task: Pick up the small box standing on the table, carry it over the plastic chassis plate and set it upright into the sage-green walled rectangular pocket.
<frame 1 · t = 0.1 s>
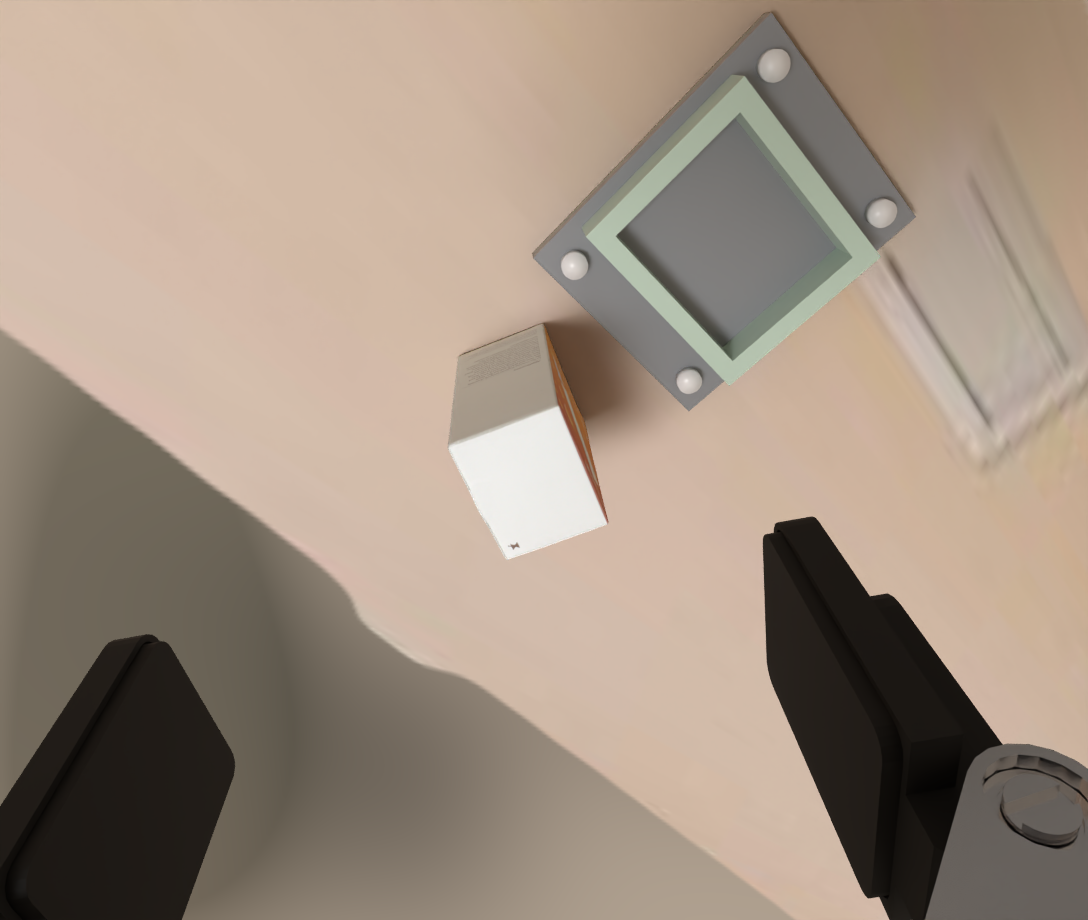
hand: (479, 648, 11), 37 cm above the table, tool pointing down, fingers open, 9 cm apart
chassis: (719, 233, 45), on the table
small box: (523, 387, 50), on the table
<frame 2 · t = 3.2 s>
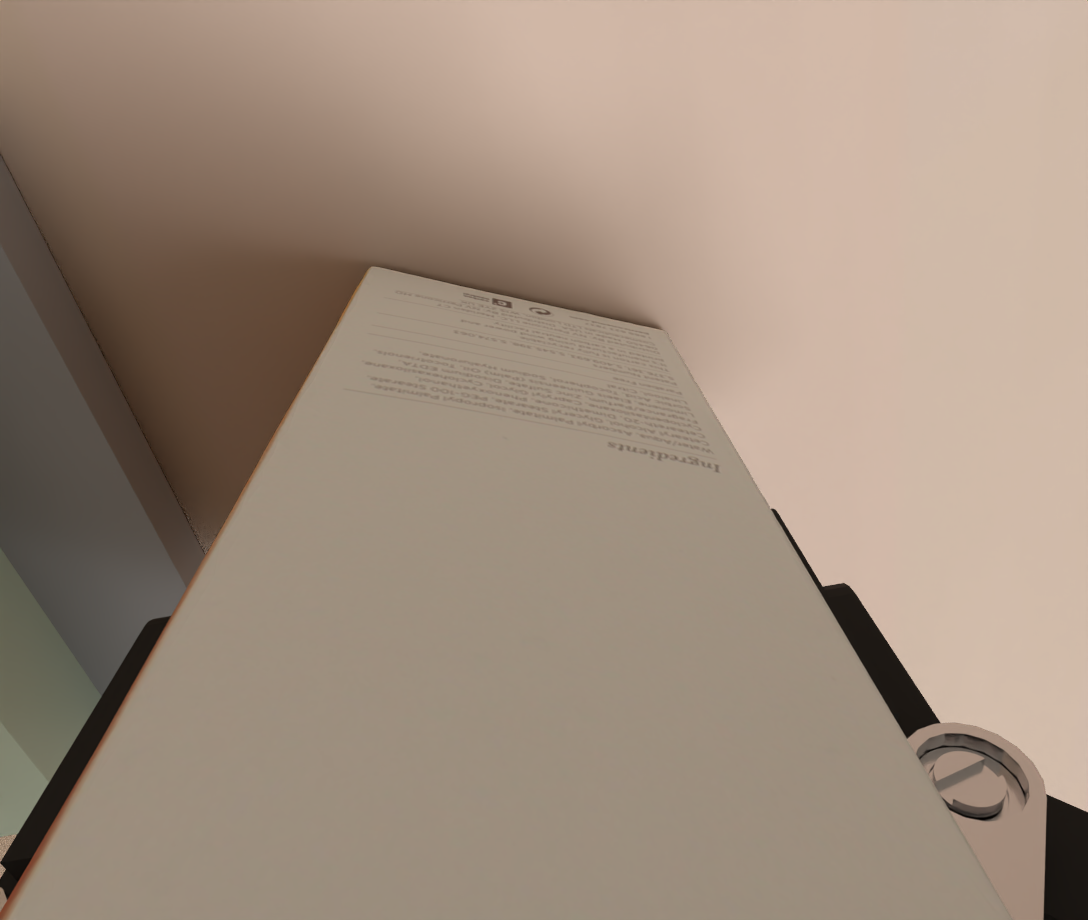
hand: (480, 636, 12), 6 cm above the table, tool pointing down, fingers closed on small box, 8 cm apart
small box: (484, 458, 17), on the table, touching gripper
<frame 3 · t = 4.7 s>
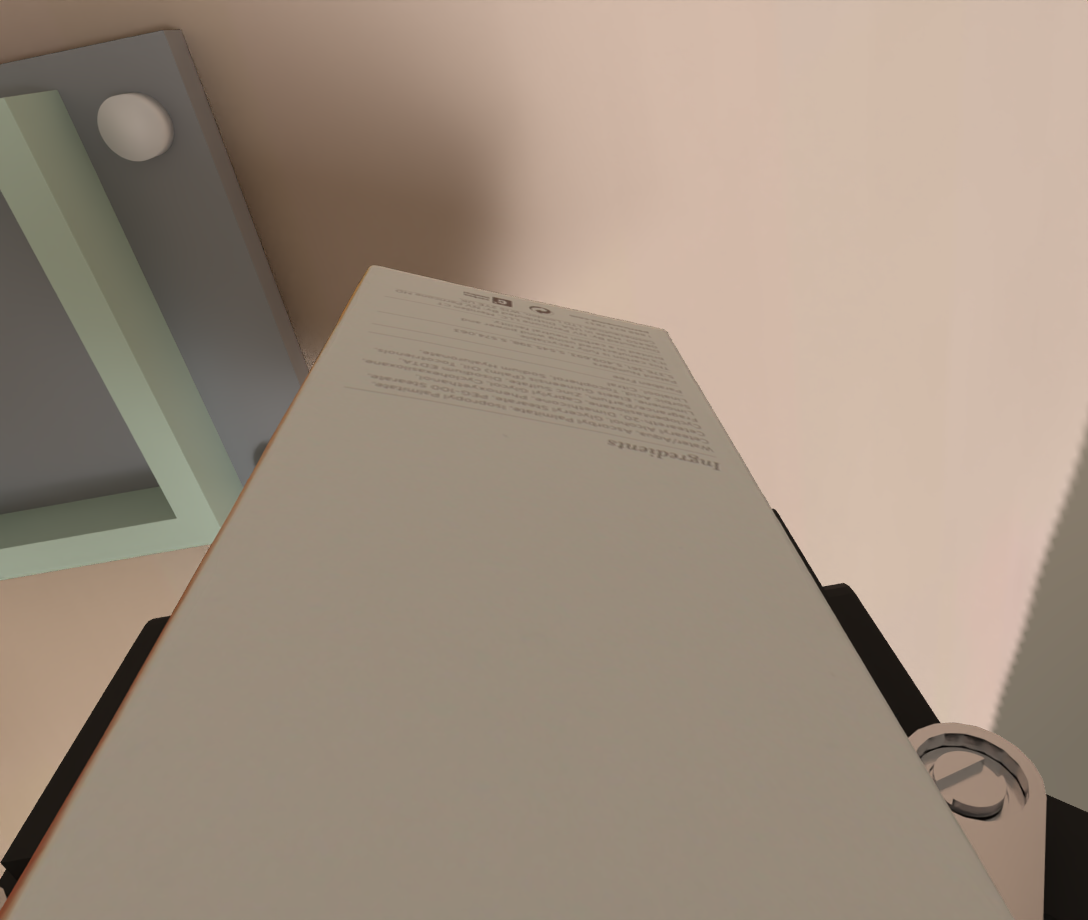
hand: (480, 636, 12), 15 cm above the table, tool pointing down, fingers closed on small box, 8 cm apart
chassis: (16, 344, 24), on the table
small box: (484, 457, 17), point 9 cm above the table, touching gripper
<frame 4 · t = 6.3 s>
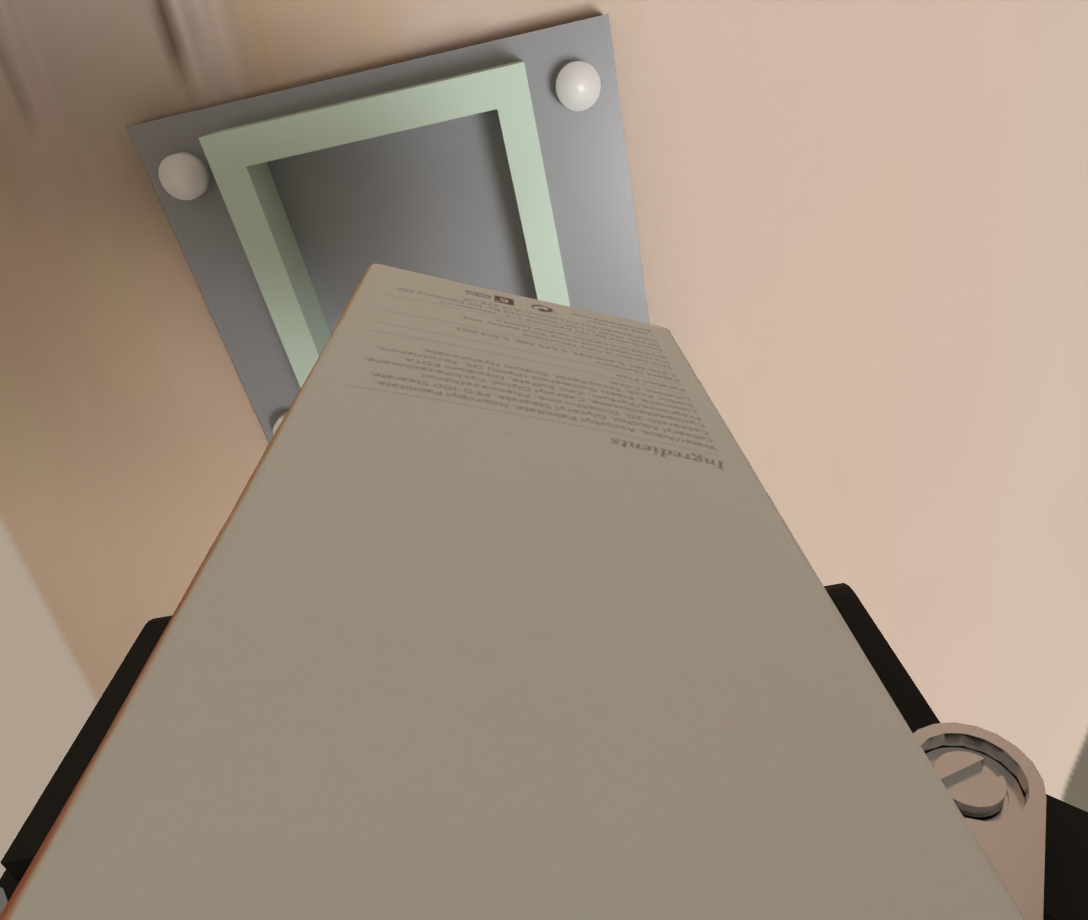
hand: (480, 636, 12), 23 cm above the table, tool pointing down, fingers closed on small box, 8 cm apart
chassis: (423, 265, 31), on the table
small box: (485, 456, 17), point 17 cm above the table, touching gripper
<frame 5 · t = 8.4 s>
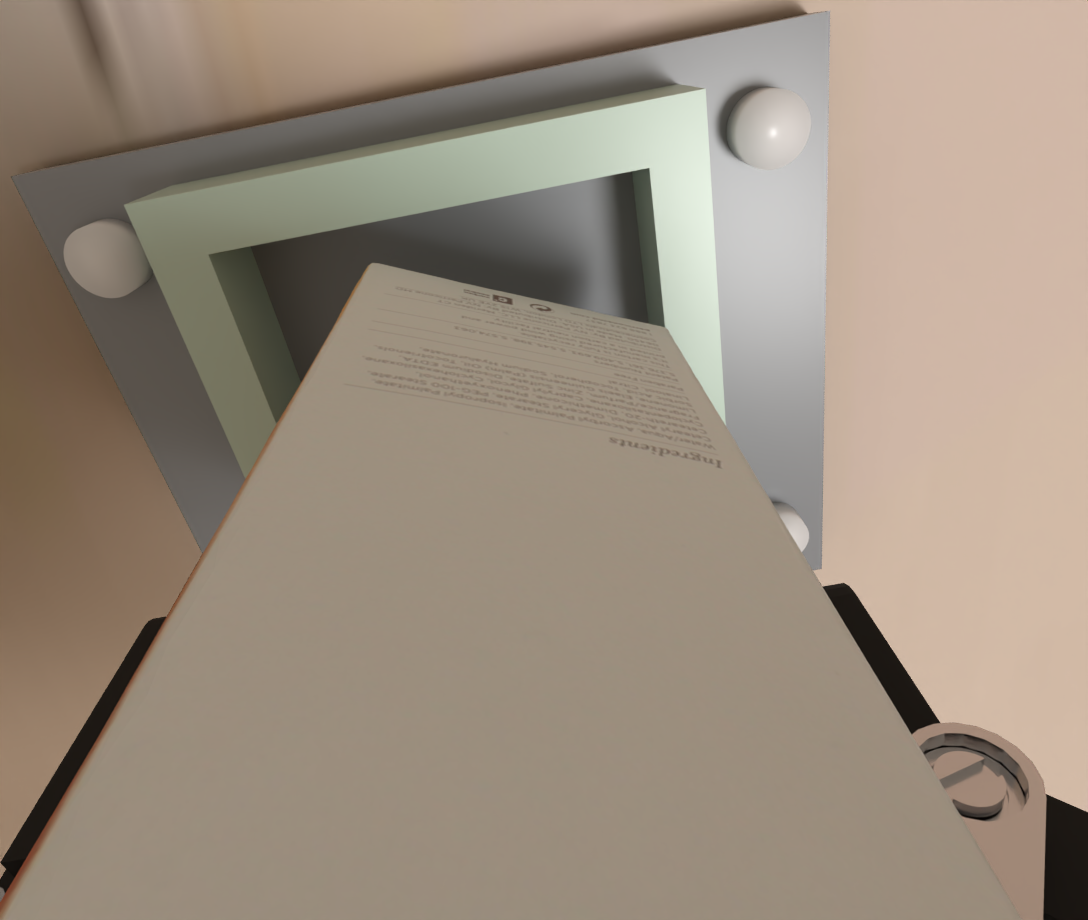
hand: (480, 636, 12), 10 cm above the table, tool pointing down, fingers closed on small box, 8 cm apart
chassis: (486, 388, 20), on the table
small box: (484, 456, 17), point 4 cm above the table, touching gripper
when the fingers open (8 cm above the table, at t = 9.8 s): small box drops 1 cm, resting on chassis.
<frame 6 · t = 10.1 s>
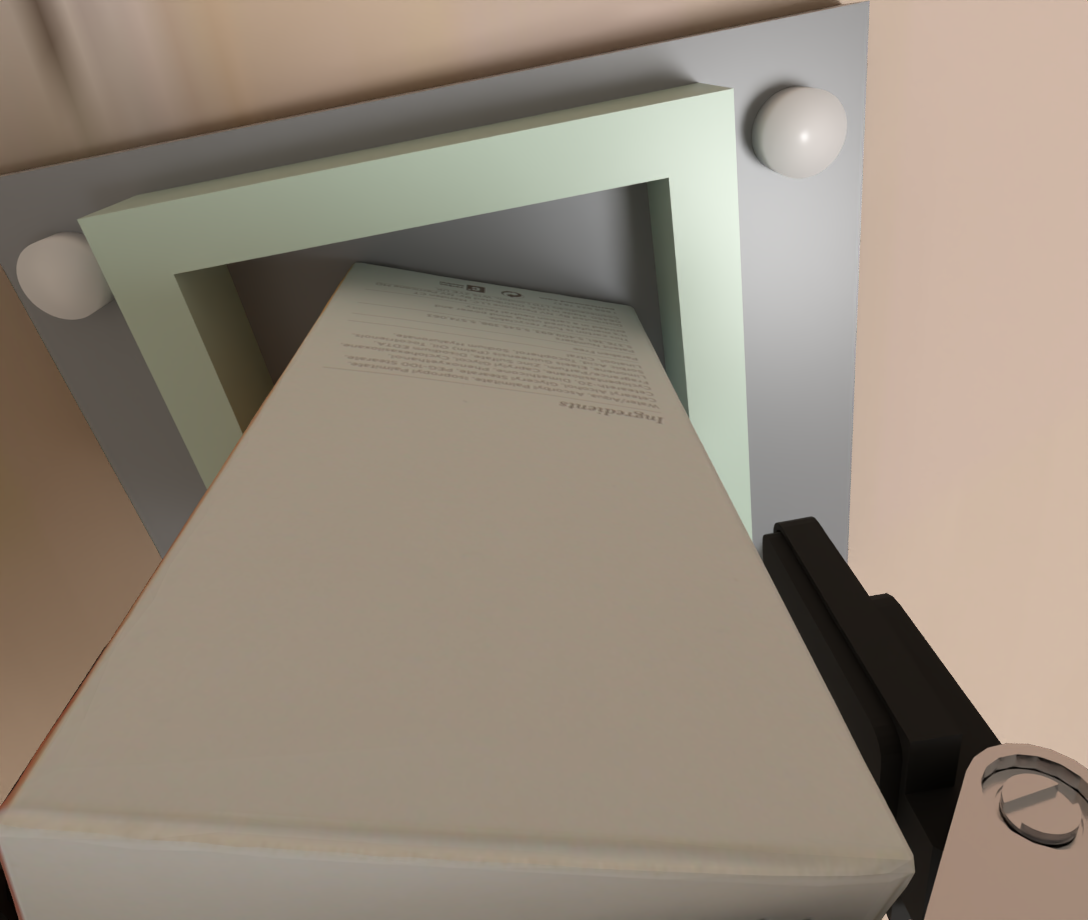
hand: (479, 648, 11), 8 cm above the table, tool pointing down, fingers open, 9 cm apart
chassis: (486, 412, 19), on the table
small box: (473, 436, 18), point 1 cm above the table, touching chassis
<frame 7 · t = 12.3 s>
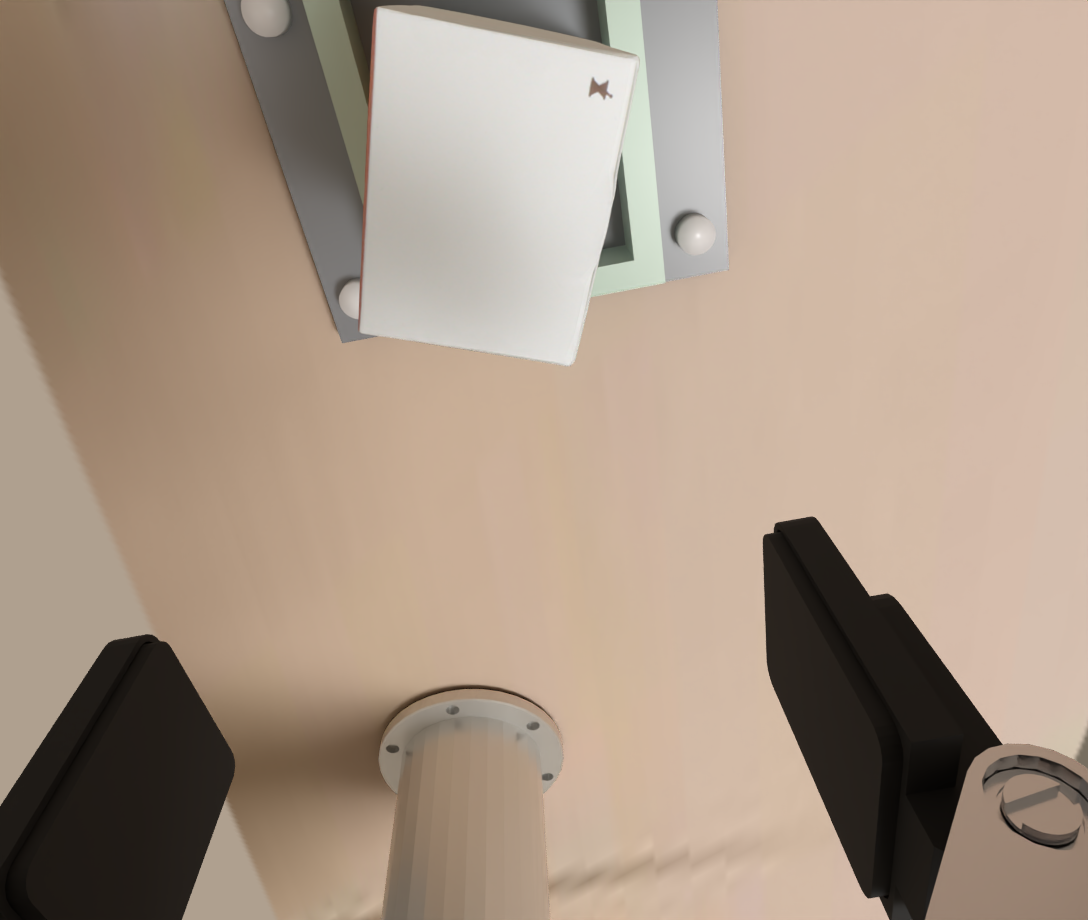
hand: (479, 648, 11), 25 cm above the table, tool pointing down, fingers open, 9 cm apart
chassis: (499, 127, 30), on the table
small box: (492, 135, 30), point 1 cm above the table, touching chassis
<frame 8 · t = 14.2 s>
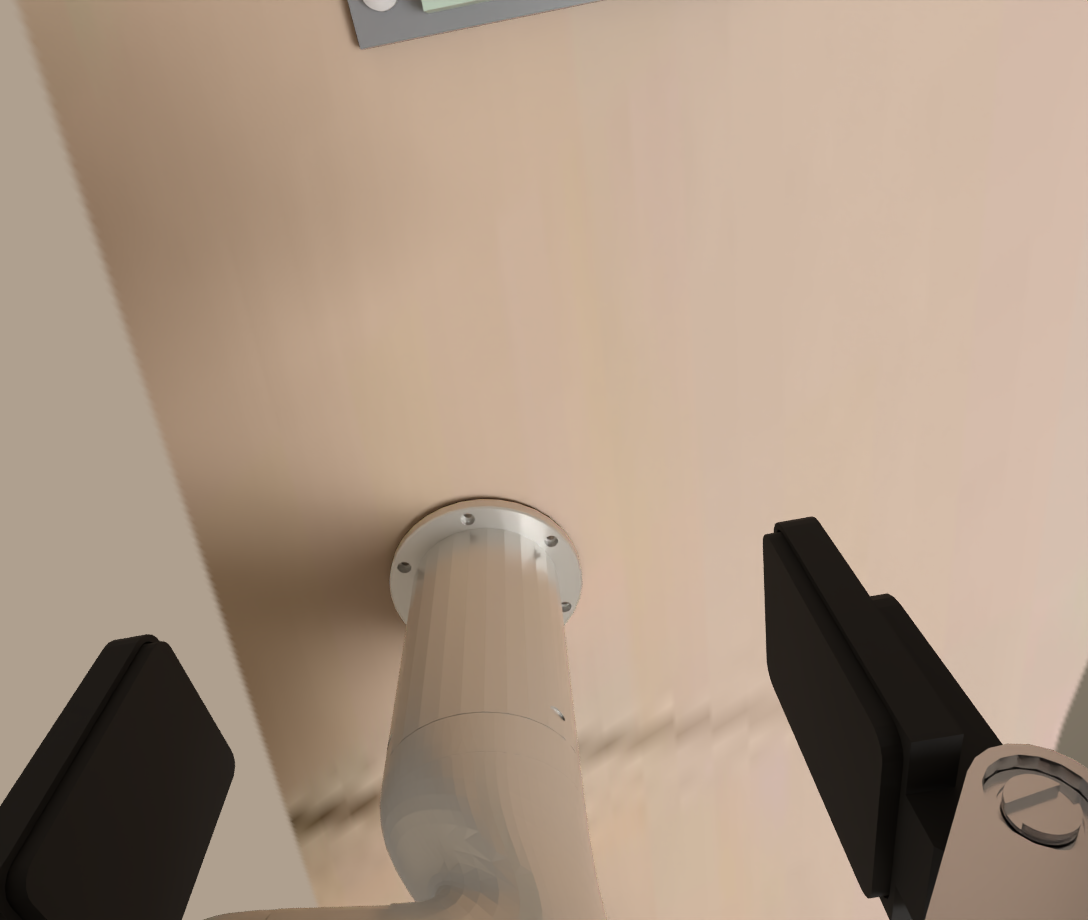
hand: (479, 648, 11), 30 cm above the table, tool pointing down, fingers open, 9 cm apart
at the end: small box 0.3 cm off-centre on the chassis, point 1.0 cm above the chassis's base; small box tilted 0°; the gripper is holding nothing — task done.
